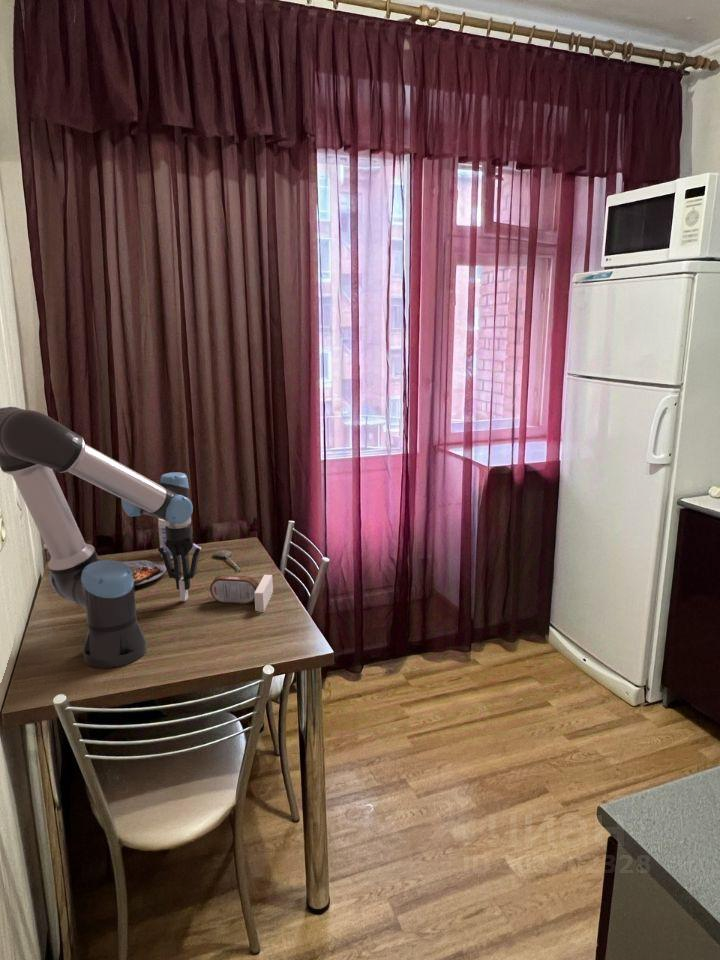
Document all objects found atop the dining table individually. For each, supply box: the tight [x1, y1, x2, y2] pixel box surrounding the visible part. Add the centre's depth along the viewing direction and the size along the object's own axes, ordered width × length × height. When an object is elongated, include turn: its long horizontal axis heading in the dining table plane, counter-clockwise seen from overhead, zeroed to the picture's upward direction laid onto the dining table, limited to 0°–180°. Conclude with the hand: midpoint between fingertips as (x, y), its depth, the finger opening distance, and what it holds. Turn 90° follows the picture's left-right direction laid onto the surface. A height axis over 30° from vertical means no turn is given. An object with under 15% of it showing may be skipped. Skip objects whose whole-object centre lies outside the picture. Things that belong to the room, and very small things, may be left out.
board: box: [254, 574, 274, 613], centre depth 190 cm, size 14×2×6 cm, turn 177°
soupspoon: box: [212, 549, 243, 572], centre depth 225 cm, size 22×3×7 cm
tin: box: [209, 574, 260, 605], centre depth 190 cm, size 15×3×8 cm, turn 82°
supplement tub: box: [157, 518, 181, 560], centre depth 231 cm, size 10×10×15 cm
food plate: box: [122, 559, 168, 587], centre depth 211 cm, size 25×23×4 cm
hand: (184, 599), depth 192 cm, fingers closed
